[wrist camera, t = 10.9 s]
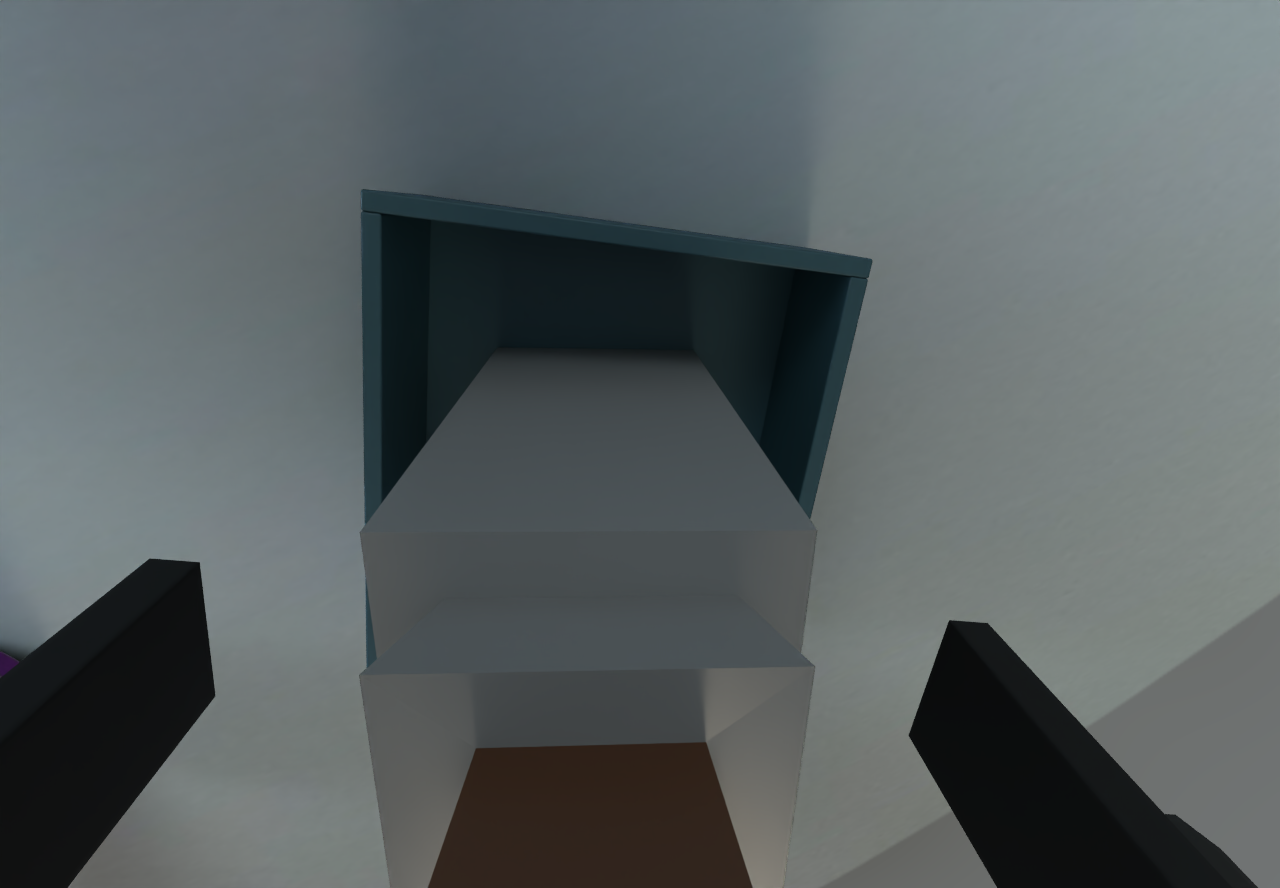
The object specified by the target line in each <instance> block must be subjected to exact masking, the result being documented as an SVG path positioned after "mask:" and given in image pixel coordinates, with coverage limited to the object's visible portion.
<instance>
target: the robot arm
mask: <svg viewBox="0 0 1280 888" xmlns="http://www.w3.org/2000/svg"><path fill="white" fill-rule="evenodd" d="M214 697H215V688H214V680H213V671H212V663H211V655H210V646H209V638H208V629H207V621H206V613H205V604H204V596H203V587H202V579H201V571H200V562H187V561H174V560H162V559H149V560H147V561H146V562H145V563H144V564H142V565H141V566H140V567H139V568H137V569H136V570H135V571H134V572H132V573H131V574H130V575H129V576H127V577H126V578H125V579H124V580H122V581H121V582H120V583H119V584H117V585H116V586H115V587H114V588H112V589H111V590H110V591H109V592H107V593H106V594H105V595H104V596H102V597H101V598H100V599H99V600H97V601H96V602H95V603H94V604H92V605H91V606H90V607H89V608H87V609H86V610H85V611H84V612H82V613H81V614H80V615H78V616H77V617H76V618H75V619H73V620H72V621H71V622H70V623H68V624H67V625H66V626H65V627H63V628H62V629H61V630H60V631H58V632H57V633H56V634H55V635H53V636H52V637H51V638H50V639H48V640H47V641H46V642H45V643H43V644H42V645H41V646H40V647H38V648H37V649H36V650H35V651H33V652H32V653H31V654H30V655H28V656H27V657H26V658H25V659H23V660H22V661H21V662H20V663H18V664H17V665H16V666H15V667H13V668H12V669H11V670H10V671H8V672H7V673H6V674H5V675H3V676H2V677H1V678H0V888H67V887H68V886H69V885H70V884H71V882H72V881H73V880H74V878H75V877H76V876H77V875H78V873H79V872H80V871H81V869H82V868H83V867H84V865H85V864H86V863H87V862H88V860H89V859H90V858H91V856H92V855H93V854H94V853H95V851H96V850H97V849H98V847H99V846H100V845H101V843H102V842H103V841H104V840H105V838H106V837H107V836H108V834H109V833H110V832H111V830H112V829H113V828H114V827H115V825H116V824H117V823H118V821H119V820H120V819H121V818H122V816H123V815H124V814H125V812H126V811H127V810H128V808H129V807H130V806H131V805H132V803H133V802H134V801H135V799H136V798H137V797H138V796H139V794H140V793H141V792H142V790H143V789H144V788H145V786H146V785H147V784H148V783H149V781H150V780H151V779H152V777H153V776H154V775H155V774H156V772H157V771H158V770H159V768H160V767H161V766H162V764H163V763H164V762H165V761H166V759H167V758H168V757H169V755H170V754H171V753H172V752H173V750H174V749H175V748H176V746H177V745H178V744H179V742H180V741H181V740H182V739H183V737H184V736H185V735H186V733H187V732H188V731H189V730H190V728H191V727H192V726H193V724H194V723H195V722H196V720H197V719H198V718H199V717H200V715H201V714H202V713H203V711H204V710H205V709H206V708H207V706H208V705H209V704H210V702H211V701H212V700H213V698H214ZM909 737H910V739H911V740H912V742H913V744H914V746H915V747H916V749H917V751H918V752H919V754H920V756H921V758H922V759H923V761H924V763H925V764H926V766H927V768H928V770H929V771H930V773H931V775H932V776H933V778H934V780H935V782H936V783H937V785H938V787H939V788H940V790H941V792H942V794H943V795H944V797H945V799H946V800H947V802H948V804H949V806H950V807H951V809H952V811H953V812H954V814H955V816H956V818H957V819H958V821H959V823H960V825H961V826H962V828H963V830H964V831H965V833H966V835H967V837H968V838H969V840H970V842H971V843H972V845H973V847H974V848H975V850H976V852H977V854H978V855H979V857H980V859H981V860H982V862H983V864H984V866H985V867H986V869H987V871H988V873H989V874H990V876H991V878H992V879H993V881H994V883H995V885H996V886H997V888H1258V887H1257V886H1256V885H1255V884H1254V883H1253V882H1252V881H1251V880H1250V879H1249V878H1248V877H1247V876H1246V875H1245V874H1244V873H1243V872H1242V871H1241V870H1240V869H1239V868H1238V866H1237V865H1236V864H1235V863H1234V862H1233V861H1232V860H1231V859H1230V858H1229V857H1228V856H1227V855H1226V854H1225V853H1224V852H1223V851H1222V850H1221V849H1220V848H1219V847H1217V846H1216V845H1215V844H1213V843H1212V842H1211V841H1209V840H1208V839H1207V838H1205V837H1204V836H1203V835H1201V834H1200V833H1199V832H1197V831H1196V830H1195V829H1194V828H1192V827H1191V826H1190V825H1188V824H1187V823H1186V822H1184V821H1183V820H1182V819H1180V818H1179V817H1178V816H1176V815H1170V814H1164V813H1163V812H1162V811H1161V810H1160V809H1159V808H1158V807H1157V806H1156V805H1155V804H1154V802H1153V801H1152V800H1151V799H1150V798H1149V797H1148V796H1147V795H1146V794H1145V793H1144V792H1143V790H1142V789H1141V788H1140V787H1139V786H1138V785H1137V784H1136V783H1135V782H1134V781H1133V780H1132V779H1131V778H1130V776H1129V775H1128V774H1127V773H1126V772H1125V771H1124V770H1123V769H1122V768H1121V767H1120V766H1119V765H1118V763H1116V761H1115V760H1114V759H1113V758H1112V757H1111V756H1110V755H1109V754H1108V753H1107V752H1106V751H1105V749H1104V748H1103V747H1102V746H1101V745H1100V744H1099V743H1098V742H1097V741H1096V740H1095V739H1094V738H1093V736H1092V735H1091V734H1090V733H1089V732H1088V731H1087V730H1086V729H1085V728H1084V727H1083V726H1082V725H1081V723H1080V722H1079V721H1078V720H1077V719H1076V718H1075V717H1074V716H1073V715H1072V714H1071V713H1070V712H1069V711H1068V709H1067V708H1066V707H1065V706H1064V705H1063V704H1062V703H1061V702H1060V701H1059V700H1058V699H1057V698H1056V696H1055V695H1054V694H1053V693H1052V692H1051V691H1050V690H1049V689H1048V688H1047V687H1046V686H1045V685H1044V684H1043V682H1042V681H1041V680H1040V679H1039V678H1038V677H1037V676H1036V675H1035V674H1034V673H1033V672H1032V671H1031V669H1030V668H1029V667H1028V666H1027V665H1026V664H1025V663H1024V662H1023V661H1022V660H1021V659H1020V658H1019V657H1018V655H1017V654H1016V653H1015V652H1014V651H1013V650H1012V649H1011V648H1010V647H1009V646H1008V645H1007V644H1006V642H1005V641H1004V640H1003V639H1002V638H1001V637H1000V636H999V635H998V634H997V633H996V632H995V631H994V629H993V628H992V627H991V626H990V625H989V624H988V623H978V622H965V621H952V620H949V622H948V625H947V628H946V631H945V634H944V637H943V639H942V642H941V645H940V648H939V651H938V654H937V656H936V659H935V662H934V665H933V668H932V671H931V673H930V676H929V679H928V682H927V685H926V688H925V690H924V693H923V696H922V699H921V702H920V705H919V708H918V710H917V713H916V716H915V719H914V722H913V725H912V727H911V730H910V733H909Z"/></svg>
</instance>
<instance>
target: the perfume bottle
mask: <svg viewBox="0 0 1280 888" xmlns="http://www.w3.org/2000/svg"><path fill="white" fill-rule="evenodd" d="M816 536H817V529H816V528H815V526H814V525H813V524H812V522H811V521H810V519H809V518H808V516H807V515H806V513H805V512H804V510H803V509H802V507H801V506H800V505H799V503H798V502H797V500H796V499H795V497H794V496H793V494H792V493H791V491H790V490H789V489H788V487H787V486H786V484H785V483H784V481H783V480H782V478H781V477H780V475H779V474H778V472H777V471H776V470H775V468H774V467H773V465H772V464H771V462H770V461H769V459H768V458H767V456H766V455H765V454H764V452H763V451H762V449H761V448H760V446H759V445H758V443H757V442H756V440H755V439H754V437H753V436H752V435H751V433H750V432H749V430H748V429H747V427H746V426H745V424H744V423H743V421H742V420H741V419H740V417H739V416H738V414H737V413H736V411H735V410H734V408H733V407H732V405H731V404H730V403H729V401H728V400H727V398H726V397H725V395H724V394H723V392H722V391H721V389H720V388H719V386H718V385H717V384H716V382H715V381H714V379H713V378H712V376H711V375H710V373H709V372H708V370H707V369H706V368H705V366H704V365H703V363H702V362H701V360H700V359H699V357H698V356H697V354H696V353H695V351H694V350H642V349H571V348H500V347H497V349H496V350H495V351H494V353H493V354H492V356H491V357H490V358H489V360H488V361H487V362H486V364H485V365H484V366H483V368H482V369H481V370H480V372H479V373H478V374H477V376H476V377H475V378H474V380H473V381H472V382H471V384H470V385H469V386H468V388H467V389H466V390H465V392H464V393H463V395H462V396H461V397H460V399H459V400H458V401H457V403H456V404H455V405H454V407H453V408H452V409H451V411H450V412H449V413H448V415H447V416H446V417H445V419H444V420H443V421H442V423H441V424H440V425H439V427H438V428H437V429H436V431H435V432H434V434H433V435H432V436H431V438H430V439H429V440H428V442H427V443H426V444H425V446H424V447H423V448H422V450H421V451H420V452H419V454H418V455H417V456H416V458H415V459H414V460H413V462H412V463H411V464H410V466H409V467H408V468H407V470H406V471H405V473H404V474H403V475H402V477H401V478H400V479H399V481H398V482H397V483H396V485H395V486H394V487H393V489H392V490H391V491H390V493H389V494H388V495H387V497H386V498H385V499H384V501H383V502H382V503H381V505H380V506H379V508H378V509H377V510H376V512H375V513H374V514H373V516H372V517H371V518H370V520H369V521H368V522H367V524H366V525H365V526H364V528H363V529H362V530H361V532H360V537H361V544H362V552H363V559H364V567H365V574H366V581H367V589H368V596H369V604H370V611H371V618H372V626H373V633H374V641H375V648H376V656H377V660H375V661H374V662H373V663H372V664H371V665H370V666H369V667H368V668H367V669H365V670H364V671H363V672H362V673H361V674H360V675H359V677H360V684H361V691H362V698H363V704H364V711H365V718H366V725H367V732H368V738H369V745H370V752H371V759H372V765H373V772H374V779H375V786H376V792H377V799H378V806H379V813H380V820H381V826H382V833H383V840H384V847H385V853H386V860H387V867H388V874H389V881H390V887H391V888H783V887H784V880H785V873H786V866H787V859H788V853H789V846H790V839H791V832H792V825H793V818H794V811H795V804H796V797H797V790H798V783H799V776H800V769H801V762H802V755H803V748H804V741H805V734H806V727H807V720H808V713H809V706H810V699H811V693H812V686H813V679H814V672H815V666H814V665H813V664H812V663H811V662H810V661H809V660H808V659H807V658H806V657H804V656H803V655H802V654H801V648H802V641H803V633H804V626H805V618H806V611H807V603H808V596H809V588H810V581H811V573H812V566H813V558H814V551H815V543H816Z"/></svg>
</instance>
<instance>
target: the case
mask: <svg viewBox="0 0 1280 888" xmlns="http://www.w3.org/2000/svg"><path fill="white" fill-rule="evenodd" d="M361 209H362V210H363V211H362V212H361V251H362V333H363V414H364V495H365V525H366V524H367V522H368V521H369V520H370V518H371V517H372V516H373V514H374V513H375V512H376V510H377V509H378V508H379V506H380V505H381V503H382V502H383V501H384V499H385V498H386V497H387V495H388V494H389V493H390V491H391V490H392V489H393V487H394V486H395V485H396V483H397V482H398V481H399V479H400V478H401V477H402V475H403V474H404V473H405V471H406V470H407V468H408V467H409V466H410V464H411V463H412V462H413V460H414V459H415V458H416V456H417V455H418V454H419V452H420V451H421V450H422V448H423V447H424V446H425V444H426V443H427V442H428V440H429V439H430V438H431V436H432V435H433V434H434V432H435V431H436V429H437V428H438V427H439V425H440V424H441V423H442V421H443V420H444V419H445V417H446V416H447V415H448V413H449V412H450V411H451V409H452V408H453V407H454V405H455V404H456V403H457V401H458V400H459V399H460V397H461V396H462V395H463V393H464V392H465V390H466V389H467V388H468V386H469V385H470V384H471V382H472V381H473V380H474V378H475V377H476V376H477V374H478V373H479V372H480V370H481V369H482V368H483V366H484V365H485V364H486V362H487V361H488V360H489V358H490V357H491V356H492V354H493V353H494V351H495V350H496V349H497V347H500V348H571V349H642V350H694V351H695V353H696V354H697V356H698V357H699V359H700V360H701V362H702V363H703V365H704V366H705V368H706V369H707V370H708V372H709V373H710V375H711V376H712V378H713V379H714V381H715V382H716V384H717V385H718V386H719V388H720V389H721V391H722V392H723V394H724V395H725V397H726V398H727V400H728V401H729V403H730V404H731V405H732V407H733V408H734V410H735V411H736V413H737V414H738V416H739V417H740V419H741V420H742V421H743V423H744V424H745V426H746V427H747V429H748V430H749V432H750V433H751V435H752V436H753V437H754V439H755V440H756V442H757V443H758V445H759V446H760V448H761V449H762V451H763V452H764V454H765V455H766V456H767V458H768V459H769V461H770V462H771V464H772V465H773V467H774V468H775V470H776V471H777V472H778V474H779V475H780V477H781V478H782V480H783V481H784V483H785V484H786V486H787V487H788V489H789V490H790V491H791V493H792V494H793V496H794V497H795V499H796V500H797V502H798V503H799V505H800V506H801V507H802V509H803V510H804V512H805V513H806V515H807V516H808V518H809V519H810V517H811V513H812V509H813V505H814V501H815V497H816V493H817V488H818V484H819V480H820V476H821V472H822V468H823V464H824V459H825V455H826V451H827V447H828V443H829V439H830V435H831V430H832V426H833V422H834V418H835V414H836V410H837V406H838V402H839V397H840V393H841V389H842V385H843V381H844V377H845V373H846V368H847V364H848V360H849V356H850V352H851V348H852V344H853V340H854V335H855V331H856V327H857V323H858V319H859V315H860V311H861V306H862V302H863V298H864V294H865V290H866V286H867V282H868V280H867V279H866V278H868V277H869V273H870V269H871V265H872V259H868V258H863V257H857V256H851V255H845V254H840V253H834V252H828V251H823V250H817V249H811V248H805V247H798V246H790V245H783V244H776V243H769V242H761V241H754V240H747V239H739V238H732V237H725V236H718V235H710V234H703V233H696V232H689V231H681V230H674V229H667V228H660V227H652V226H645V225H638V224H630V223H623V222H616V221H609V220H601V219H594V218H587V217H580V216H572V215H565V214H558V213H551V212H543V211H536V210H529V209H522V208H514V207H507V206H500V205H492V204H485V203H478V202H471V201H463V200H456V199H449V198H442V197H434V196H427V195H418V194H408V193H398V192H387V191H376V190H366V189H363V190H361ZM365 577H366V574H365ZM366 658H367V668H368V667H369V666H370V665H371V664H372V663H373V662H374V661H375V660H377V656H376V648H375V641H374V633H373V626H372V618H371V611H370V604H369V596H368V589H367V581H366Z"/></svg>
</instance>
